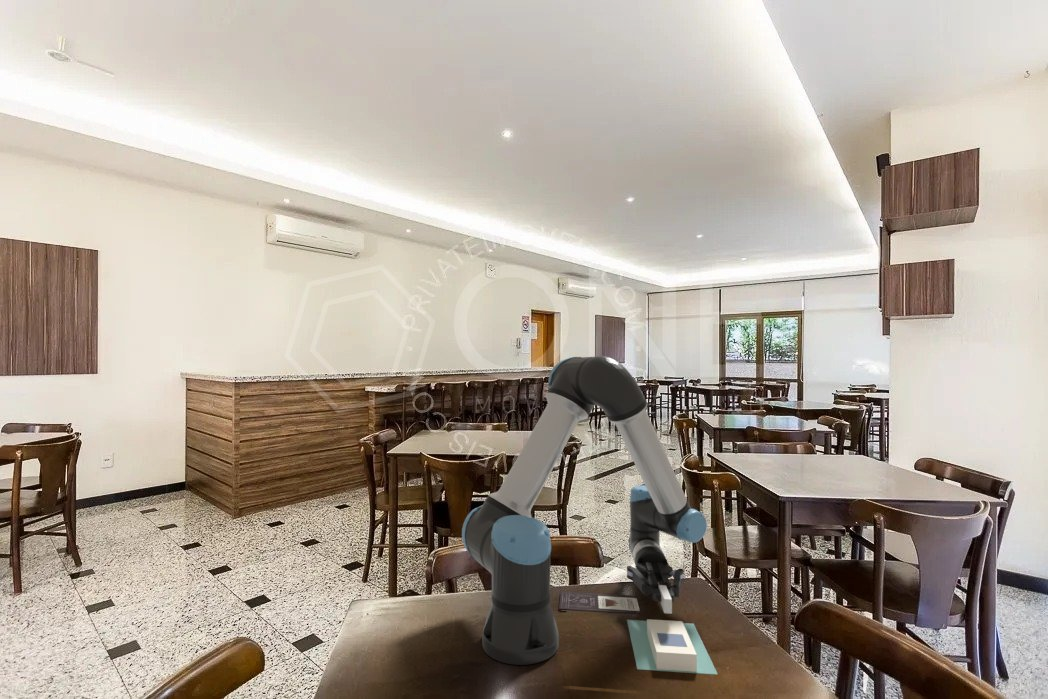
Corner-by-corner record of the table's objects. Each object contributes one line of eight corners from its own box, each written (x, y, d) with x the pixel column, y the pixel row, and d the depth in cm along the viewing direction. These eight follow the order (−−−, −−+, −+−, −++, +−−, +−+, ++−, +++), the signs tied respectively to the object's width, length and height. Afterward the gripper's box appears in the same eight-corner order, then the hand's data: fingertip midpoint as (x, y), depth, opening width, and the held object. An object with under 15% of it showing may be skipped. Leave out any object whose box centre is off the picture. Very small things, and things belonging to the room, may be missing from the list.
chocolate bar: (560, 591, 120) (636, 595, 118) (560, 595, 120) (636, 599, 118) (559, 608, 111) (640, 613, 109) (559, 612, 111) (640, 618, 109)
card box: (647, 634, 100) (656, 669, 88) (647, 619, 101) (656, 651, 89) (682, 636, 100) (696, 672, 88) (682, 621, 100) (696, 654, 88)
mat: (637, 671, 89) (637, 669, 89) (626, 621, 106) (626, 619, 106) (717, 676, 87) (717, 674, 87) (693, 625, 105) (693, 623, 105)
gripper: (677, 578, 119) (702, 628, 95) (623, 575, 120) (634, 623, 97) (677, 546, 119) (702, 588, 96) (623, 544, 121) (634, 584, 97)
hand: (668, 606), depth 96 cm, fingers closed
